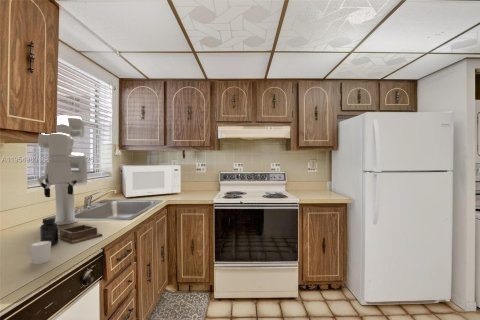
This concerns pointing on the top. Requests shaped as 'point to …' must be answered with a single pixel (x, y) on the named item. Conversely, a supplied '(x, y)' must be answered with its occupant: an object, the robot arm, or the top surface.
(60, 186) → the robot arm
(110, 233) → the top surface
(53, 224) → the supplement bottle
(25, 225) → the top surface
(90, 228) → the bottle cradle
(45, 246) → the shot glass
